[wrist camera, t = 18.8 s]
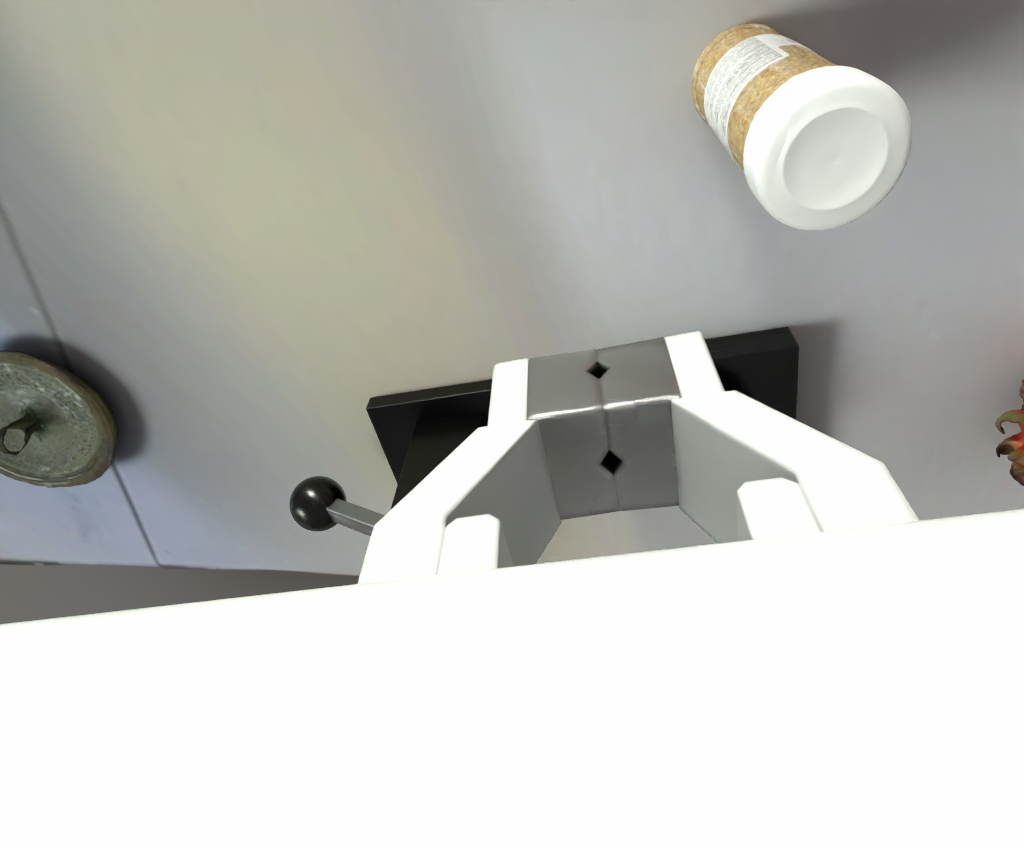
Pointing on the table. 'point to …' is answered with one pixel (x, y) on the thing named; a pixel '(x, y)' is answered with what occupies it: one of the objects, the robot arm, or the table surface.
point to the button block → (759, 366)
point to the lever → (328, 507)
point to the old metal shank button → (51, 424)
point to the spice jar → (802, 126)
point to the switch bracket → (426, 427)
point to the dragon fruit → (1013, 441)
